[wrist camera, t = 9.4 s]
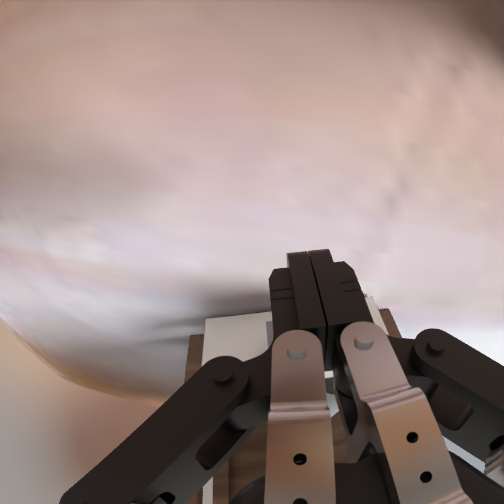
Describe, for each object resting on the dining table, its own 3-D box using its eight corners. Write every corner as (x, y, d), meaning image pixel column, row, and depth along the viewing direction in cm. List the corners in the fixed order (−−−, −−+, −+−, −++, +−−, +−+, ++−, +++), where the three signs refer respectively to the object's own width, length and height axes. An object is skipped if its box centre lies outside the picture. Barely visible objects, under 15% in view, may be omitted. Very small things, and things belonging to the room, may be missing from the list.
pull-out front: (200, 301, 25) (192, 366, 20) (374, 277, 25) (402, 336, 19) (209, 328, 27) (204, 391, 22) (370, 306, 27) (394, 364, 21)
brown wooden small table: (190, 335, 28) (171, 538, 13) (388, 308, 27) (459, 494, 12) (218, 401, 35) (216, 548, 20) (371, 380, 34) (408, 521, 19)
